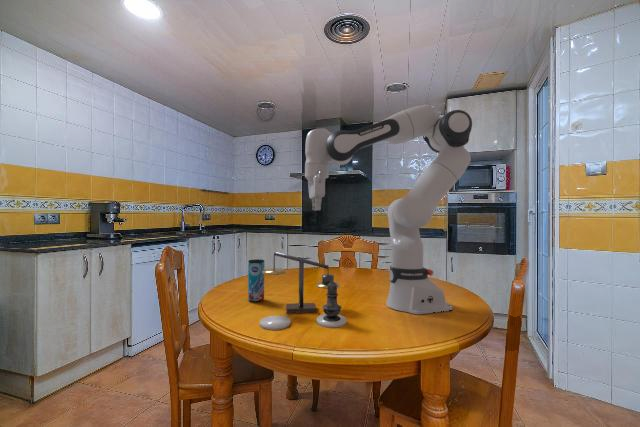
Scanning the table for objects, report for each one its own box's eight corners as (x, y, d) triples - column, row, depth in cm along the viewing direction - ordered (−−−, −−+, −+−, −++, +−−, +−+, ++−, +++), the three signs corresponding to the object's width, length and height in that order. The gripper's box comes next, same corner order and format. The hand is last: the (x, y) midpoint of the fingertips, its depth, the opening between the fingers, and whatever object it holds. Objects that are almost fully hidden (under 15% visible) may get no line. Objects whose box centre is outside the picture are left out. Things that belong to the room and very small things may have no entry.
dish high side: (289, 318, 96) (289, 315, 96) (290, 329, 88) (290, 325, 87) (260, 319, 95) (260, 316, 95) (258, 330, 86) (258, 326, 86)
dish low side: (342, 316, 99) (343, 313, 99) (349, 327, 90) (349, 323, 90) (315, 317, 97) (315, 314, 97) (318, 328, 89) (318, 324, 89)
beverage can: (246, 302, 112) (246, 261, 112) (250, 298, 118) (250, 259, 118) (262, 302, 112) (262, 262, 112) (265, 298, 118) (265, 259, 118)
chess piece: (339, 322, 90) (340, 282, 90) (320, 321, 91) (320, 280, 91) (342, 316, 96) (343, 277, 96) (324, 314, 97) (324, 276, 97)
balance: (336, 305, 110) (337, 249, 110) (341, 312, 102) (342, 252, 102) (262, 307, 107) (262, 250, 107) (260, 315, 99) (261, 253, 99)
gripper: (329, 169, 104) (329, 210, 104) (321, 176, 124) (321, 210, 124) (311, 168, 103) (310, 210, 103) (306, 175, 123) (305, 210, 123)
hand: (316, 210), depth 114 cm, fingers open, 8 cm apart
